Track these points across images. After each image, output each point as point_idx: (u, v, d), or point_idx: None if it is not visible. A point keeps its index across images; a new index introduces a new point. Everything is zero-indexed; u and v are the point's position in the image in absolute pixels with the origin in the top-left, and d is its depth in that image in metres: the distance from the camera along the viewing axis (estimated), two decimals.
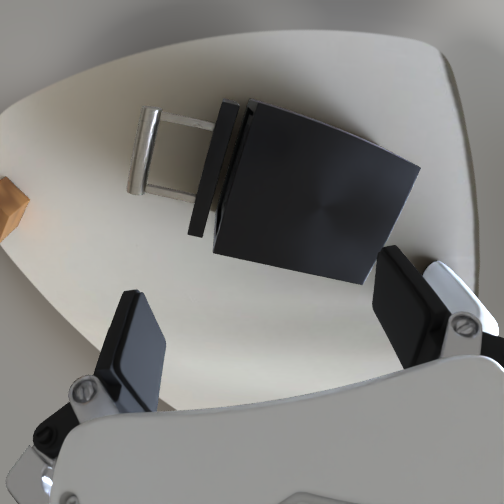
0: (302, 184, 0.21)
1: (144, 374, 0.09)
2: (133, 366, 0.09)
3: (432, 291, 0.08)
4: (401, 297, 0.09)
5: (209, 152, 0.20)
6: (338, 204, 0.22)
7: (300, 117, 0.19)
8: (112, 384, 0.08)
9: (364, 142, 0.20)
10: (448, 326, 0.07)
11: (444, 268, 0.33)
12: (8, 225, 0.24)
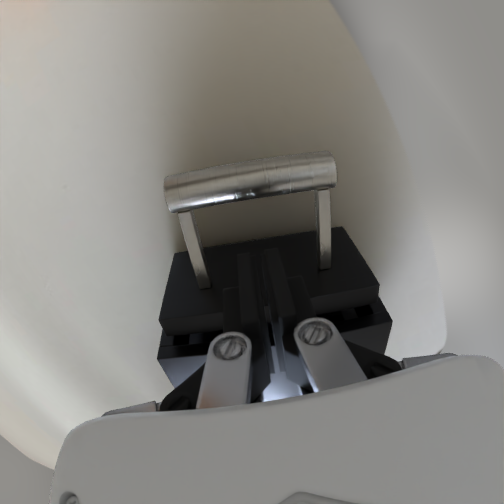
0: None
1: None
2: None
3: (289, 295, 0.09)
4: None
5: None
6: None
7: None
8: (252, 340, 0.09)
9: None
10: (294, 332, 0.08)
11: None
12: None
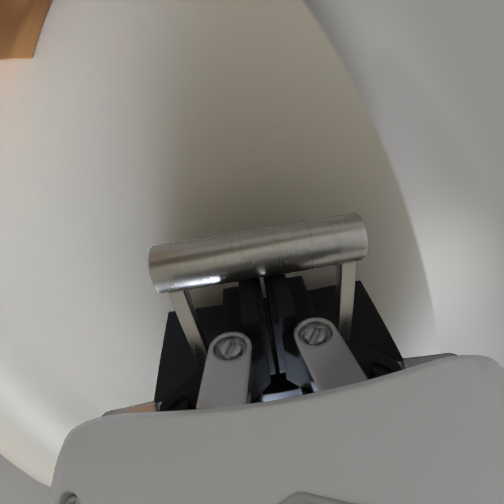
0: None
1: None
2: None
3: (288, 295, 0.09)
4: None
5: None
6: None
7: None
8: (252, 340, 0.09)
9: None
10: (293, 332, 0.08)
11: None
12: None
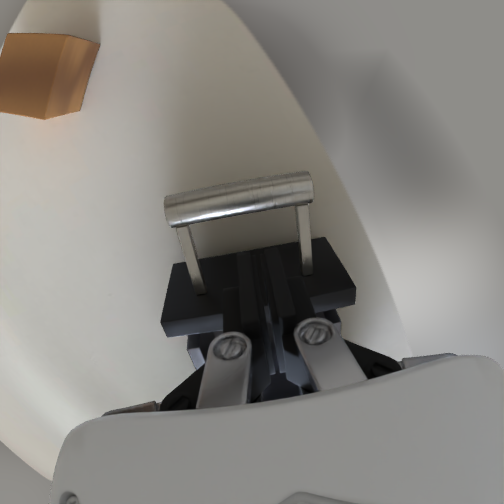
0: None
1: None
2: None
3: (288, 295, 0.09)
4: None
5: None
6: None
7: None
8: (252, 340, 0.09)
9: None
10: (293, 332, 0.08)
11: None
12: None
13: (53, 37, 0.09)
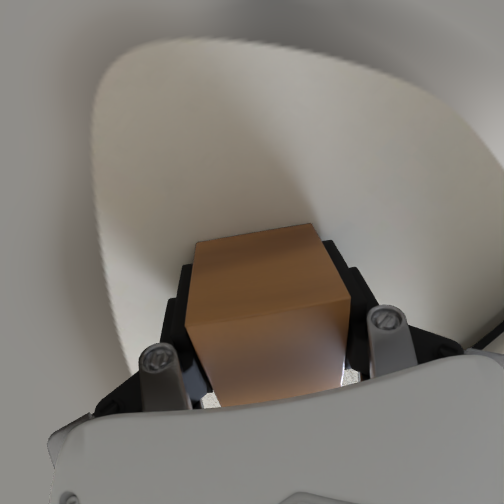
0: None
1: None
2: None
3: (355, 284, 0.09)
4: None
5: None
6: None
7: None
8: (183, 351, 0.09)
9: None
10: (366, 319, 0.08)
11: None
12: None
13: (320, 308, 0.08)
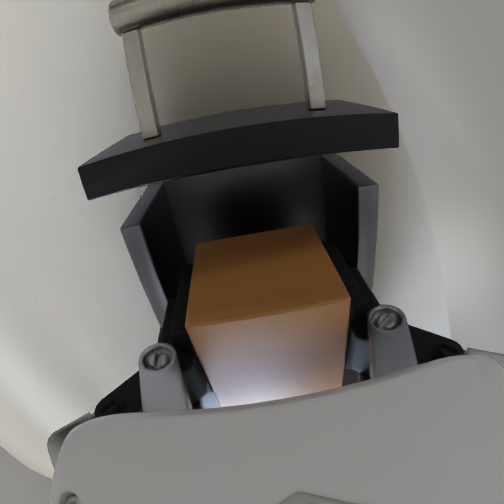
0: None
1: None
2: None
3: (356, 284, 0.09)
4: None
5: (287, 124, 0.08)
6: None
7: None
8: (183, 351, 0.09)
9: None
10: (367, 319, 0.08)
11: None
12: None
13: (320, 309, 0.08)
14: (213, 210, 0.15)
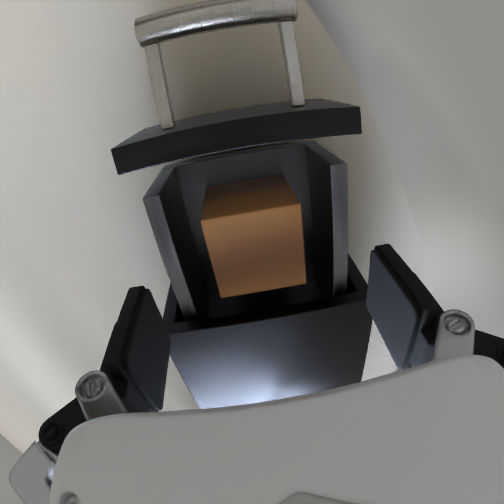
0: (296, 368, 0.18)
1: (150, 370, 0.09)
2: (140, 362, 0.09)
3: (424, 289, 0.08)
4: (393, 295, 0.09)
5: (272, 117, 0.11)
6: (289, 396, 0.19)
7: (368, 335, 0.17)
8: (119, 380, 0.08)
9: (359, 381, 0.19)
10: (440, 324, 0.07)
11: None
12: None
13: (281, 210, 0.13)
14: None
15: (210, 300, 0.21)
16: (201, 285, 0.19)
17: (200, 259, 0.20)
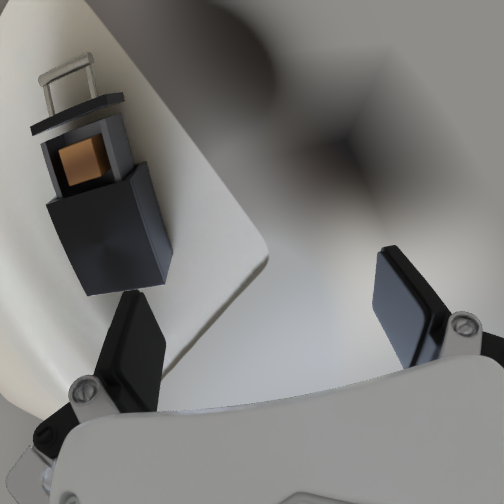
0: (105, 227, 0.32)
1: (144, 374, 0.09)
2: (133, 366, 0.09)
3: (432, 291, 0.08)
4: (401, 297, 0.09)
5: (75, 106, 0.25)
6: (110, 252, 0.33)
7: (136, 205, 0.31)
8: (112, 384, 0.08)
9: (149, 245, 0.33)
10: (448, 326, 0.07)
11: None
12: None
13: (84, 142, 0.27)
14: None
15: None
16: (73, 189, 0.33)
17: None
